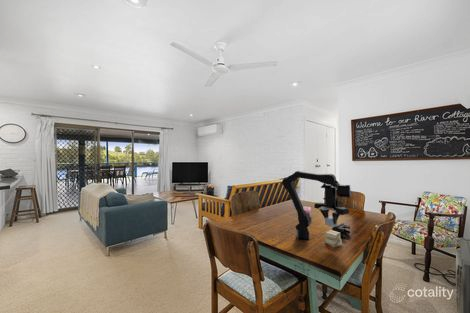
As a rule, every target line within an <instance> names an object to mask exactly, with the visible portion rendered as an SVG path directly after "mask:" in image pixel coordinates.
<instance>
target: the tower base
mask: <svg viewBox="0 0 470 313" xmlns="http://www.w3.org/2000/svg"><path fill="white" fill-rule="evenodd" d="M324 240H325V241H324V242H325V244H326V245H328V246H331V247H332V248H336V247H341V246H342V244H343V242H342V241H343V239H341V238H340V239H339V240H337V241H333V240H330V239H327V238H326V236H325V239H324Z"/></svg>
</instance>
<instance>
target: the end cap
mask: <svg viewBox="0 0 470 313" xmlns="http://www.w3.org/2000/svg"><path fill="white" fill-rule="evenodd" d="M350 229H351V227H350V225H345V224H344V223H343V222H342V223H339V224H337V226H333V227H331V230H332V231H336V232H340V239H341V240H344V239H346V238H348V237H350V235H351V230H350Z"/></svg>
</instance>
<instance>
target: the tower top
mask: <svg viewBox="0 0 470 313" xmlns="http://www.w3.org/2000/svg"><path fill="white" fill-rule="evenodd" d="M325 237H326V238H327V239H330V240H333V241H337V240H339V239H341V238H340V232H336V231H332V229H330V230H328V231H325Z"/></svg>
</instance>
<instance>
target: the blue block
mask: <svg viewBox="0 0 470 313" xmlns="http://www.w3.org/2000/svg"><path fill="white" fill-rule="evenodd" d="M324 225H325V226H328V227H331V228H333V227H334V226H337V225H338V221H337V222H336V224H334V222H333V216H328V217H326V218H324Z"/></svg>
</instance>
